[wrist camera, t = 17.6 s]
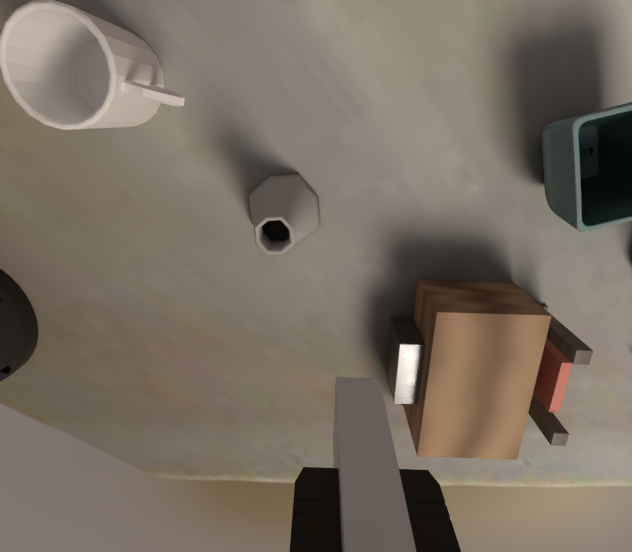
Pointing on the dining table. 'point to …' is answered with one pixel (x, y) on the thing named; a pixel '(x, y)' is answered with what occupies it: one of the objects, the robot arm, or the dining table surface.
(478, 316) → the block
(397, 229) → the dining table surface
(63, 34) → the mug
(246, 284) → the dining table surface
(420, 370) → the dark grey block
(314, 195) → the flask
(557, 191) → the flower pot
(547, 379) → the block
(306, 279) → the dining table surface
